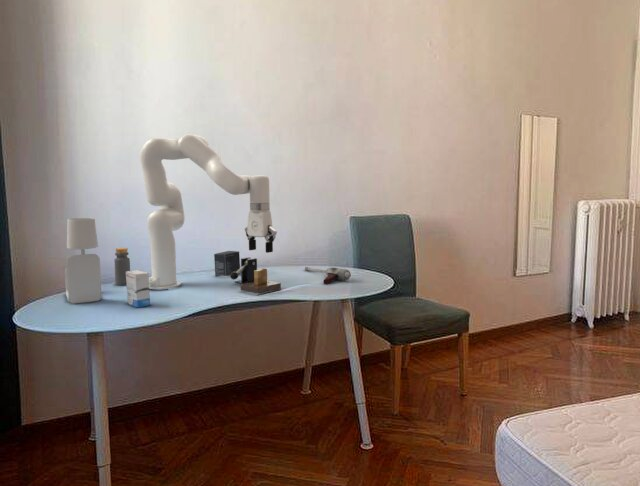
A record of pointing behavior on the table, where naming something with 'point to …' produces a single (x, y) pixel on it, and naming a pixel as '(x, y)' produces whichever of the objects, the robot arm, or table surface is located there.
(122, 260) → the bottle
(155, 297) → the table surface
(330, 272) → the grey pistol
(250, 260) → the handle bracket
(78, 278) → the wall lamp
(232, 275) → the door lever
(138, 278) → the ink box
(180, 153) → the robot arm
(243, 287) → the lock plate
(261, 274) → the thumbturn
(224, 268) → the box
